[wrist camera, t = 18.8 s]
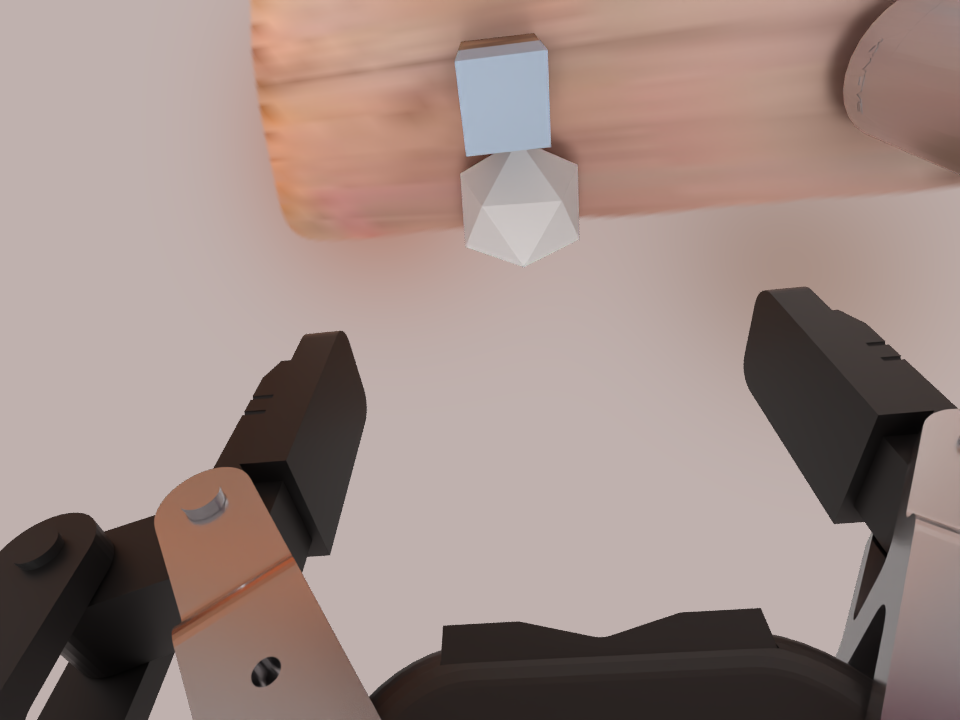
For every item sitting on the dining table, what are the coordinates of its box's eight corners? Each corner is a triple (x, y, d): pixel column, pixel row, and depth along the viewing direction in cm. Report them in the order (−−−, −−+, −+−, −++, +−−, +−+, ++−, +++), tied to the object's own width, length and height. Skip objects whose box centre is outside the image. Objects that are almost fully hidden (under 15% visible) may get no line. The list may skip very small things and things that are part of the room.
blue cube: (539, 40, 33) (547, 49, 29) (543, 127, 36) (550, 146, 32) (458, 50, 33) (454, 61, 29) (468, 136, 36) (466, 156, 32)
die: (457, 118, 40) (470, 236, 47) (452, 174, 34) (468, 301, 41) (574, 109, 39) (569, 229, 46) (591, 164, 33) (582, 294, 40)
